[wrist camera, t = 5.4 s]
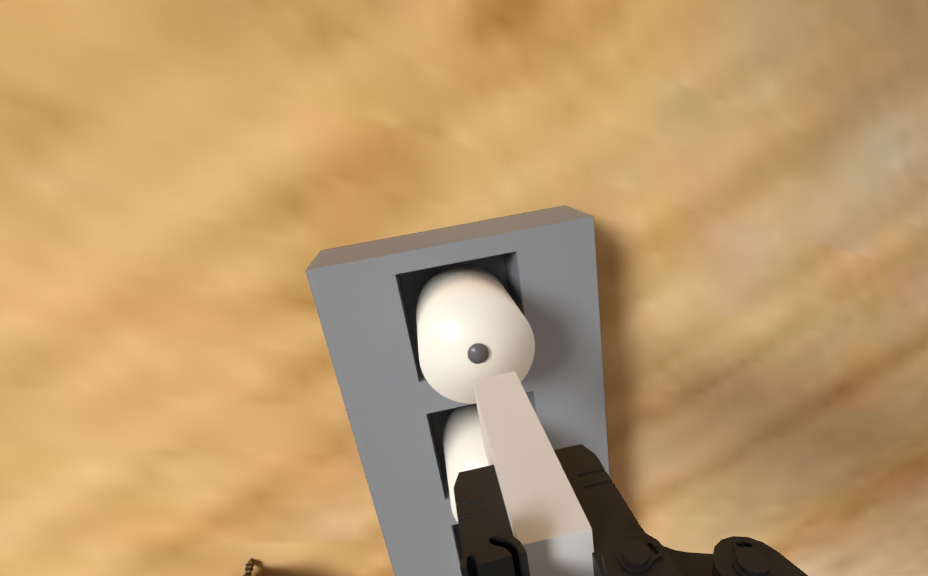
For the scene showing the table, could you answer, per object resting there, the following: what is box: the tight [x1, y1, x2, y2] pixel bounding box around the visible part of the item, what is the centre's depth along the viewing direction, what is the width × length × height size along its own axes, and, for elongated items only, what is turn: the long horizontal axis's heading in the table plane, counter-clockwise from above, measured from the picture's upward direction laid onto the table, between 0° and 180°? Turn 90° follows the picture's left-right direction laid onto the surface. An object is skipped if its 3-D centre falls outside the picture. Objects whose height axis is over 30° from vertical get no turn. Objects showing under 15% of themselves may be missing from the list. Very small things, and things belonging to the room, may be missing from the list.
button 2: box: [442, 404, 489, 522], centre depth 24 cm, size 5×5×5 cm
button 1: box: [416, 265, 535, 404], centre depth 21 cm, size 5×5×5 cm
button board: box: [305, 206, 609, 576], centre depth 27 cm, size 24×14×4 cm, turn 9°
